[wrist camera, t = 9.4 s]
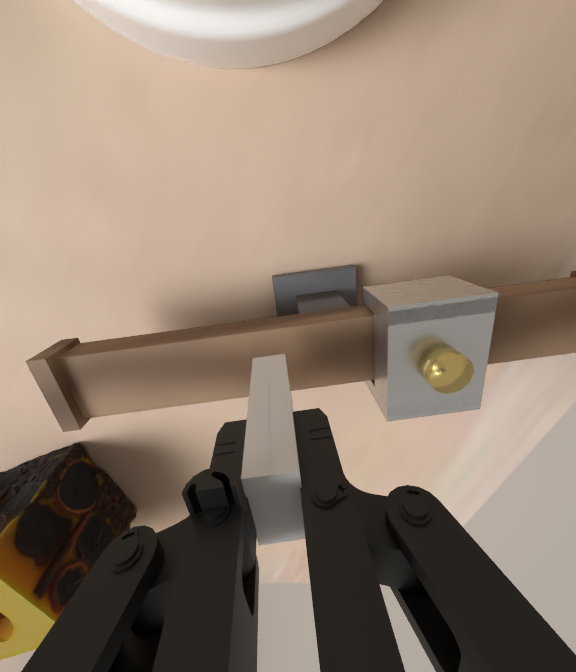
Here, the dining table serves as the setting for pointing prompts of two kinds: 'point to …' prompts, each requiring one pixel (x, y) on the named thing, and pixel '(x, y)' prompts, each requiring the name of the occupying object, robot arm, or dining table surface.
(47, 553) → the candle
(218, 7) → the white hoop ring
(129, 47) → the dining table surface
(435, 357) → the rider
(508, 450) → the dining table surface
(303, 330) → the beam
